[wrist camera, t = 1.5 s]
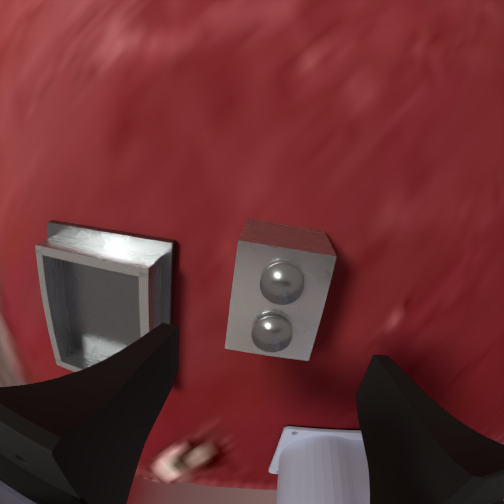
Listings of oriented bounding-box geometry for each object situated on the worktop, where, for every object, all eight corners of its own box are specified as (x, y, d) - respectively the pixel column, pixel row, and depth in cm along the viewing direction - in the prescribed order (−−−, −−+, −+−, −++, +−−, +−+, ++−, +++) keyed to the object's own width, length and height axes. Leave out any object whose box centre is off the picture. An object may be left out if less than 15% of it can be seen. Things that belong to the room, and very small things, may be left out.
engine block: (324, 230, 18) (338, 260, 14) (304, 318, 20) (309, 366, 16) (248, 218, 18) (236, 243, 14) (236, 307, 20) (223, 353, 16)
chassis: (175, 240, 19) (159, 255, 17) (172, 383, 23) (162, 407, 21) (52, 220, 20) (28, 230, 17) (69, 352, 24) (53, 370, 21)
